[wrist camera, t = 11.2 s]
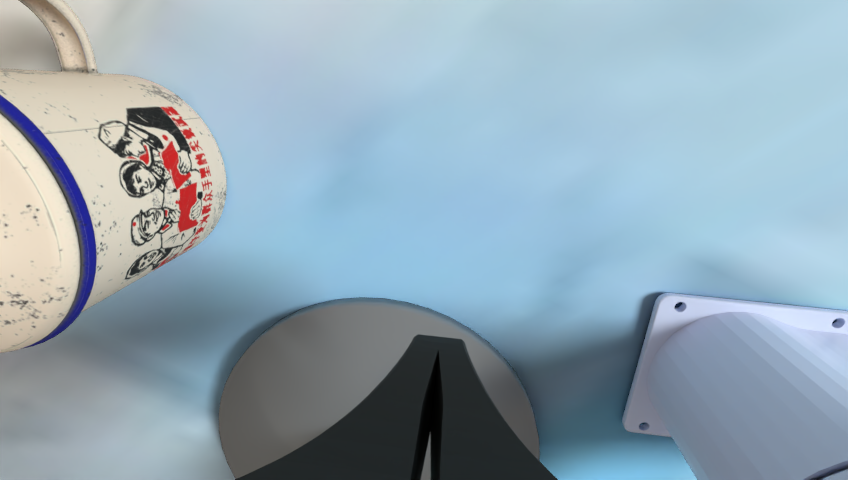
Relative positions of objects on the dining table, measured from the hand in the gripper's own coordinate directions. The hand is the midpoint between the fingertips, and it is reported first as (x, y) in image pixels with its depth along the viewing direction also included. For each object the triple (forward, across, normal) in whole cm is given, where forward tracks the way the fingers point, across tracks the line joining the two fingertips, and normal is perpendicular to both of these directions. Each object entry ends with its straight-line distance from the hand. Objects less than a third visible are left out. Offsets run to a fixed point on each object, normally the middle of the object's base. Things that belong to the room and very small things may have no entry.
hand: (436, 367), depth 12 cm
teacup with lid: (+10, +15, -4) cm, 18 cm away
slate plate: (+9, +3, +12) cm, 16 cm away
